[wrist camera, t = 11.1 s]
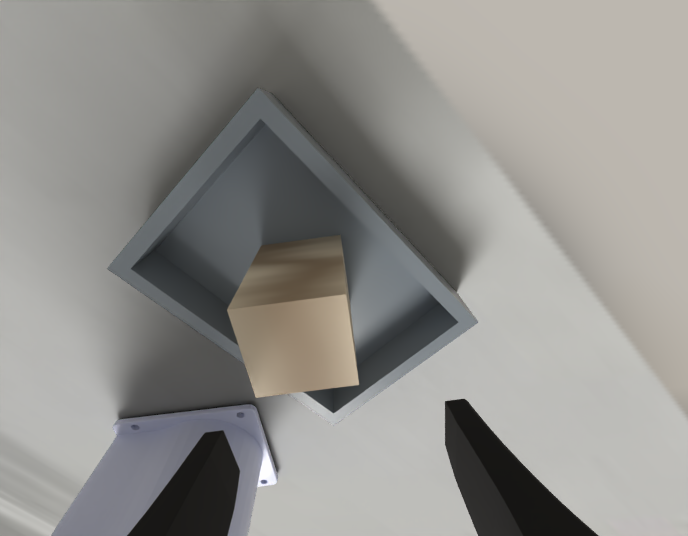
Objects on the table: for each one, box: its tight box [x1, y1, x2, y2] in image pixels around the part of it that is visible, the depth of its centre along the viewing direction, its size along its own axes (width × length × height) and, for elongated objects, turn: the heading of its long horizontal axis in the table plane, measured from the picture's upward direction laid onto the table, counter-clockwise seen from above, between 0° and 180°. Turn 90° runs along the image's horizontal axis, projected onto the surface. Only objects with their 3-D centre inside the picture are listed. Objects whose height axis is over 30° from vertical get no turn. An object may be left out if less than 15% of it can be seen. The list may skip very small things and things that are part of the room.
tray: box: [107, 88, 478, 426], centre depth 16 cm, size 10×14×3 cm
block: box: [227, 235, 359, 398], centre depth 14 cm, size 4×4×6 cm
